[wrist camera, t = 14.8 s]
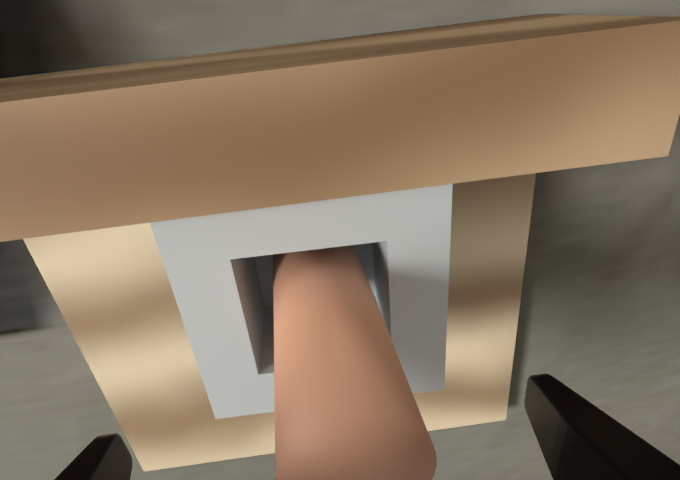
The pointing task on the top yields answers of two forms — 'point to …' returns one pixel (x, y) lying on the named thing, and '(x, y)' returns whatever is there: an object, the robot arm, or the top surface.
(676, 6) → the top surface
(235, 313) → the block
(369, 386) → the dowel
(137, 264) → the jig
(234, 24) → the top surface
